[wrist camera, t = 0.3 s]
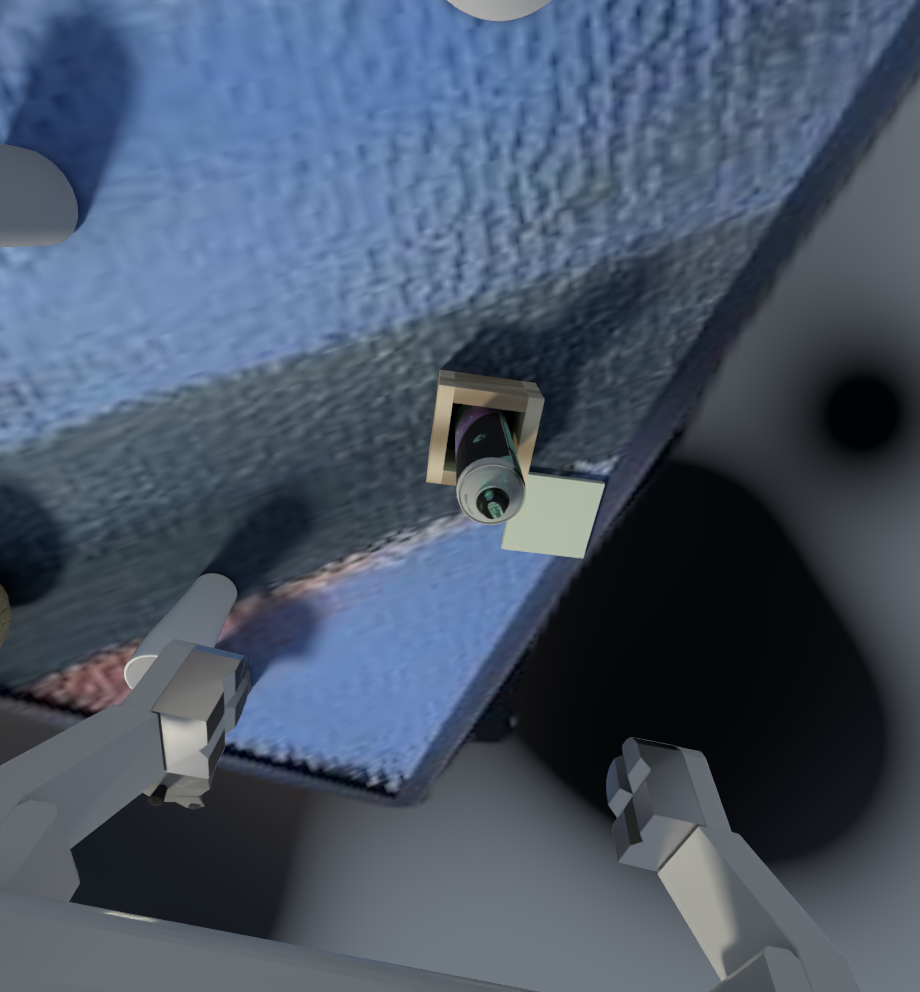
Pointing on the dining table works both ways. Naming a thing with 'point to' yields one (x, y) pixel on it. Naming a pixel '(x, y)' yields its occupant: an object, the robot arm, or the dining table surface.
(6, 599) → the cantaloupe
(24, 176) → the can
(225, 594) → the drinking glass
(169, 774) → the coffeepot
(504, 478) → the spray can
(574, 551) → the sage pad
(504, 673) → the dining table surface
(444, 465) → the can holder
